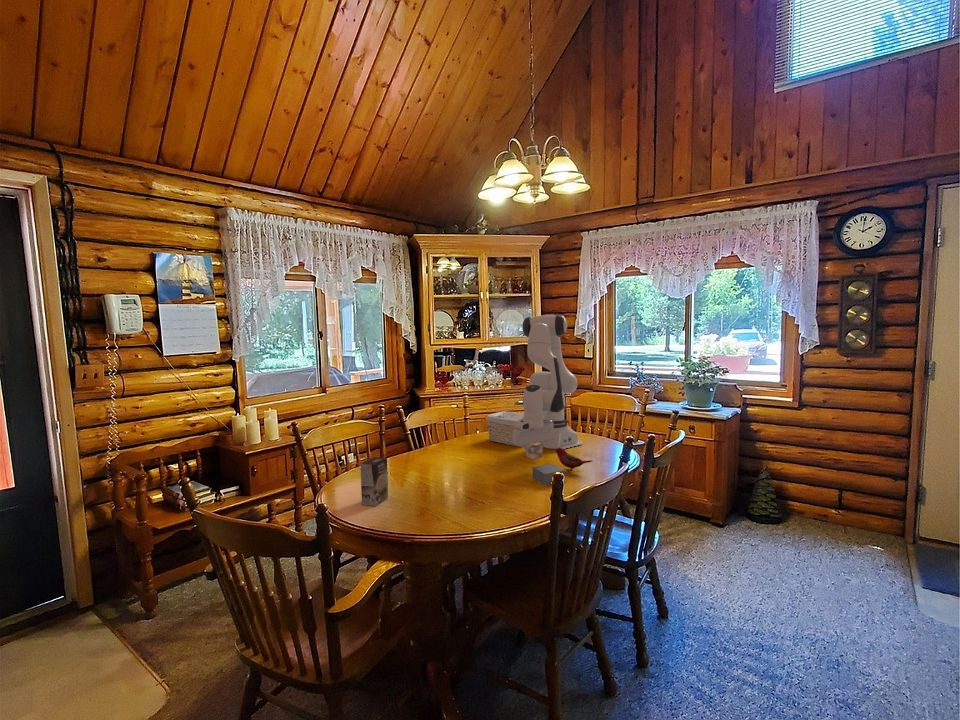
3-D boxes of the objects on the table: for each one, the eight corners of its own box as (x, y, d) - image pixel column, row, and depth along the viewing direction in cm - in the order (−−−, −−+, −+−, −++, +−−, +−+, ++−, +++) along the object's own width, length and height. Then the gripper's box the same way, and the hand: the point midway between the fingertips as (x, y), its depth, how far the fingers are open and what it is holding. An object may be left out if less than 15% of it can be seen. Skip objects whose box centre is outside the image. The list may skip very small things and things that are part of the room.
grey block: (552, 475, 221) (552, 463, 220) (565, 481, 212) (565, 470, 211) (532, 478, 217) (532, 467, 216) (545, 485, 208) (544, 473, 207)
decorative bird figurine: (556, 468, 230) (556, 446, 229) (594, 473, 221) (594, 451, 220) (553, 469, 228) (553, 448, 227) (592, 475, 219) (592, 453, 218)
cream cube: (536, 454, 230) (535, 443, 230) (542, 457, 226) (541, 446, 225) (526, 456, 228) (526, 445, 228) (532, 459, 224) (532, 448, 223)
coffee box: (375, 506, 189) (374, 464, 187) (361, 504, 191) (359, 463, 190) (389, 498, 197) (387, 457, 196) (374, 496, 200) (373, 456, 198)
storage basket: (538, 442, 276) (538, 415, 274) (520, 448, 264) (520, 420, 262) (504, 435, 291) (503, 410, 290) (485, 441, 279) (485, 415, 278)
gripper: (549, 417, 232) (549, 447, 234) (510, 423, 224) (511, 454, 225) (557, 420, 227) (557, 450, 228) (517, 426, 218) (518, 457, 220)
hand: (534, 452), depth 227 cm, fingers closed on cream cube, 5 cm apart
